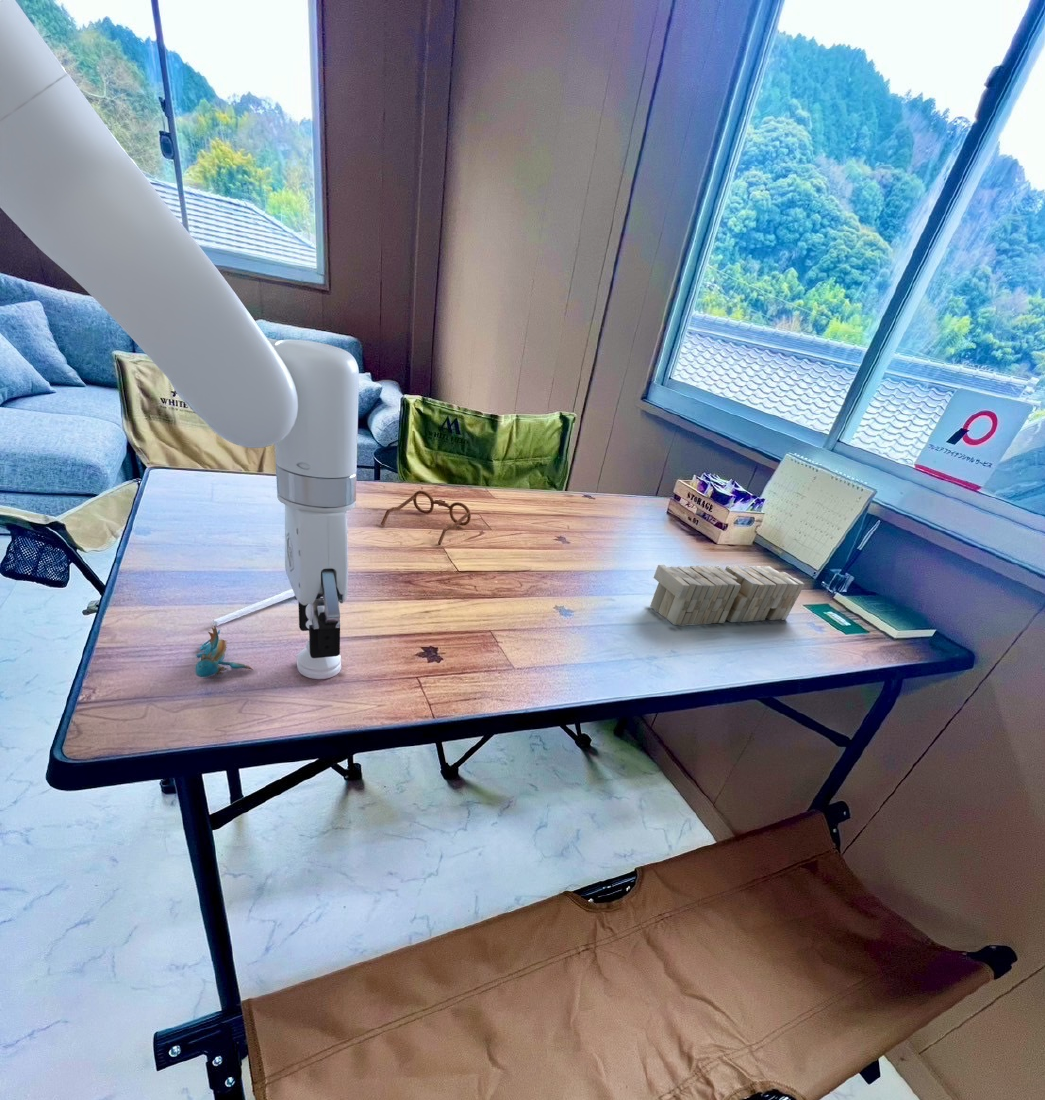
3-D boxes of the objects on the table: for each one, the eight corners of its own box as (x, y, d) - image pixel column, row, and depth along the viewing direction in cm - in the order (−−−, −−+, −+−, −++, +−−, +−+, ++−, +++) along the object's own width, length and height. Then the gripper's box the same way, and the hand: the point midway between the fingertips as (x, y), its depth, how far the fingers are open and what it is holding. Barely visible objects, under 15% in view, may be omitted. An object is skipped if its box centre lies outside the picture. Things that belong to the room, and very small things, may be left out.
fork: (205, 622, 74) (203, 609, 73) (322, 580, 89) (322, 568, 88) (223, 632, 73) (222, 619, 72) (338, 587, 88) (338, 576, 87)
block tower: (756, 605, 117) (641, 605, 104) (775, 566, 113) (657, 560, 99) (785, 624, 112) (667, 627, 98) (806, 584, 107) (685, 580, 94)
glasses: (469, 529, 120) (473, 505, 117) (439, 546, 109) (442, 519, 107) (414, 511, 123) (416, 487, 120) (379, 525, 112) (380, 499, 109)
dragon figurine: (150, 649, 66) (181, 654, 61) (200, 608, 69) (234, 609, 65) (191, 690, 70) (224, 698, 65) (237, 649, 73) (271, 653, 69)
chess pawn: (290, 662, 70) (287, 594, 65) (330, 654, 73) (330, 588, 68) (307, 683, 67) (305, 614, 62) (348, 674, 70) (349, 607, 65)
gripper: (263, 458, 62) (272, 609, 72) (293, 516, 51) (299, 687, 61) (335, 462, 66) (334, 606, 76) (378, 517, 54) (371, 679, 64)
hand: (319, 640), depth 68 cm, fingers open, 5 cm apart
